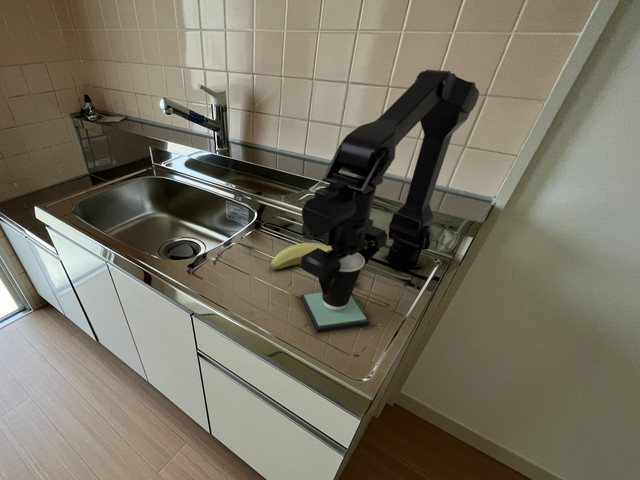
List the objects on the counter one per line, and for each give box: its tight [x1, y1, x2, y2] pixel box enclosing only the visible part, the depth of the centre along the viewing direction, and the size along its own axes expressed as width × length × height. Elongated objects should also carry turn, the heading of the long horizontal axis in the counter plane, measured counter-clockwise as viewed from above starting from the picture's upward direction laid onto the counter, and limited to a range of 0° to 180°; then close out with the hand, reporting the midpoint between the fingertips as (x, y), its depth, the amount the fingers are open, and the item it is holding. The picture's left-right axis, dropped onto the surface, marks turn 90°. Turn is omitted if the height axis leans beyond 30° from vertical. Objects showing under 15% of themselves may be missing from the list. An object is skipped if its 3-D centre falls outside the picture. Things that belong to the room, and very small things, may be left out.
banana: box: [270, 242, 358, 286], centre depth 83 cm, size 14×6×20 cm
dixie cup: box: [322, 249, 365, 310], centre depth 68 cm, size 8×8×11 cm
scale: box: [300, 291, 370, 334], centre depth 72 cm, size 12×11×2 cm
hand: (338, 285), depth 68 cm, fingers closed on dixie cup, 8 cm apart
